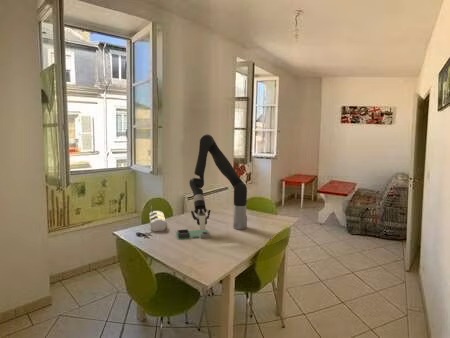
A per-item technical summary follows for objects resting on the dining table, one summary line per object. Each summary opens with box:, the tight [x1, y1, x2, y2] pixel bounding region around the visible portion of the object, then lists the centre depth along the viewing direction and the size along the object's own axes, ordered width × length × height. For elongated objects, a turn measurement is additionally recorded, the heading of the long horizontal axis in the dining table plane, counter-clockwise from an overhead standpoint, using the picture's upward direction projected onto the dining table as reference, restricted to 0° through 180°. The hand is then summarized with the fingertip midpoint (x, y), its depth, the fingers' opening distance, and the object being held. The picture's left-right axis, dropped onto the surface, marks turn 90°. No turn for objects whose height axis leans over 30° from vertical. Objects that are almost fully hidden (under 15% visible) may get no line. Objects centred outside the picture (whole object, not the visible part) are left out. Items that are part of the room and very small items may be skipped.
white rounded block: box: [149, 205, 167, 232], centre depth 232 cm, size 25×10×13 cm, turn 16°
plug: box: [197, 213, 206, 230], centre depth 211 cm, size 4×4×11 cm
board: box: [174, 229, 212, 241], centre depth 210 cm, size 22×16×4 cm
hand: (202, 224), depth 210 cm, fingers closed on plug, 4 cm apart
